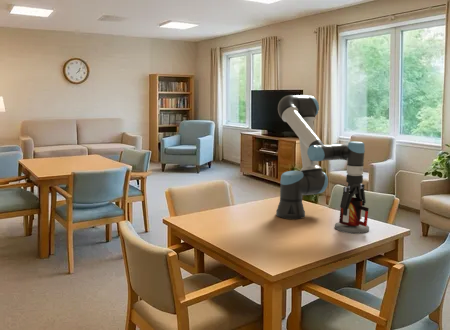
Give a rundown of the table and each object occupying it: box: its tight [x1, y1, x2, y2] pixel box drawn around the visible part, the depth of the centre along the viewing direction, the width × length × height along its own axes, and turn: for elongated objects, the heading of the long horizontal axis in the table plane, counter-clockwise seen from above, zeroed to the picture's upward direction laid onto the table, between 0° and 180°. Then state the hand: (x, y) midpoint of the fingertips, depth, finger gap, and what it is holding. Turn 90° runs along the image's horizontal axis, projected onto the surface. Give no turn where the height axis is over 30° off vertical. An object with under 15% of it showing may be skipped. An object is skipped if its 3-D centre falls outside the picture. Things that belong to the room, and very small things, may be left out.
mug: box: [338, 196, 370, 226], centre depth 216 cm, size 10×14×12 cm
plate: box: [334, 221, 370, 235], centre depth 217 cm, size 16×16×1 cm
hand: (352, 220), depth 217 cm, fingers closed on mug, 10 cm apart
